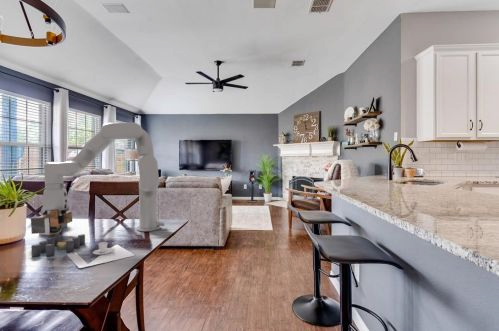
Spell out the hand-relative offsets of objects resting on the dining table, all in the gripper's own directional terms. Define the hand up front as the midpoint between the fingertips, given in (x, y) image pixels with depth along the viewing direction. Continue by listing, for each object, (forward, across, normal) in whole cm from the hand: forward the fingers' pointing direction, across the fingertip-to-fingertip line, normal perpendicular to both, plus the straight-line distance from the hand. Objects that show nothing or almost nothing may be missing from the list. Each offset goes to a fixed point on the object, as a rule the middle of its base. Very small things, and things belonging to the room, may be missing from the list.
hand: (56, 223), depth 134 cm
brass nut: (+8, -13, +17) cm, 23 cm away
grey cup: (+8, +14, -24) cm, 29 cm away
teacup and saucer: (+8, -33, +26) cm, 43 cm away
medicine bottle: (+8, +10, -11) cm, 17 cm away
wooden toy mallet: (+1, 0, +3) cm, 3 cm away
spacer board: (+8, -13, +19) cm, 25 cm away
